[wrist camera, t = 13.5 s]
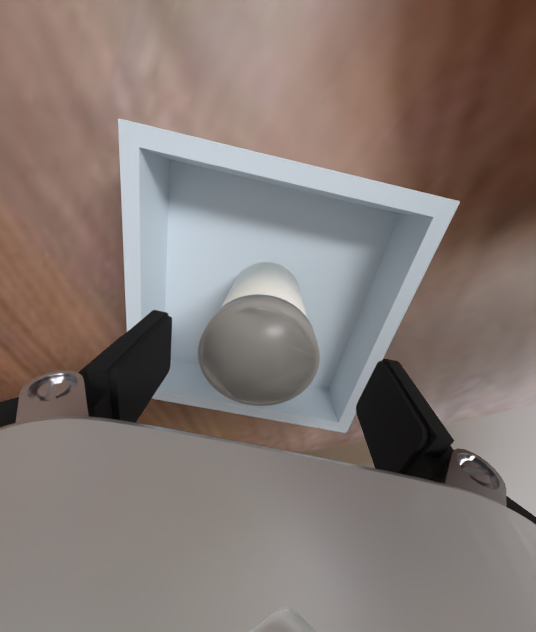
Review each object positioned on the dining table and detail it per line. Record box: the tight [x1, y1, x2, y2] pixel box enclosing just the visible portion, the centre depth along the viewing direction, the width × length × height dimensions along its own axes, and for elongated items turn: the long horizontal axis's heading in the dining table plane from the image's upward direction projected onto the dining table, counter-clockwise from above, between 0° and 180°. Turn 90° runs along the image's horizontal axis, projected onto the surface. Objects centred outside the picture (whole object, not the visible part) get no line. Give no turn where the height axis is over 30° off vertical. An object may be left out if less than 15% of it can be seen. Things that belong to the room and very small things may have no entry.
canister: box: [198, 262, 320, 406], centre depth 16 cm, size 6×6×9 cm
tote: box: [118, 118, 460, 433], centre depth 18 cm, size 18×18×5 cm
